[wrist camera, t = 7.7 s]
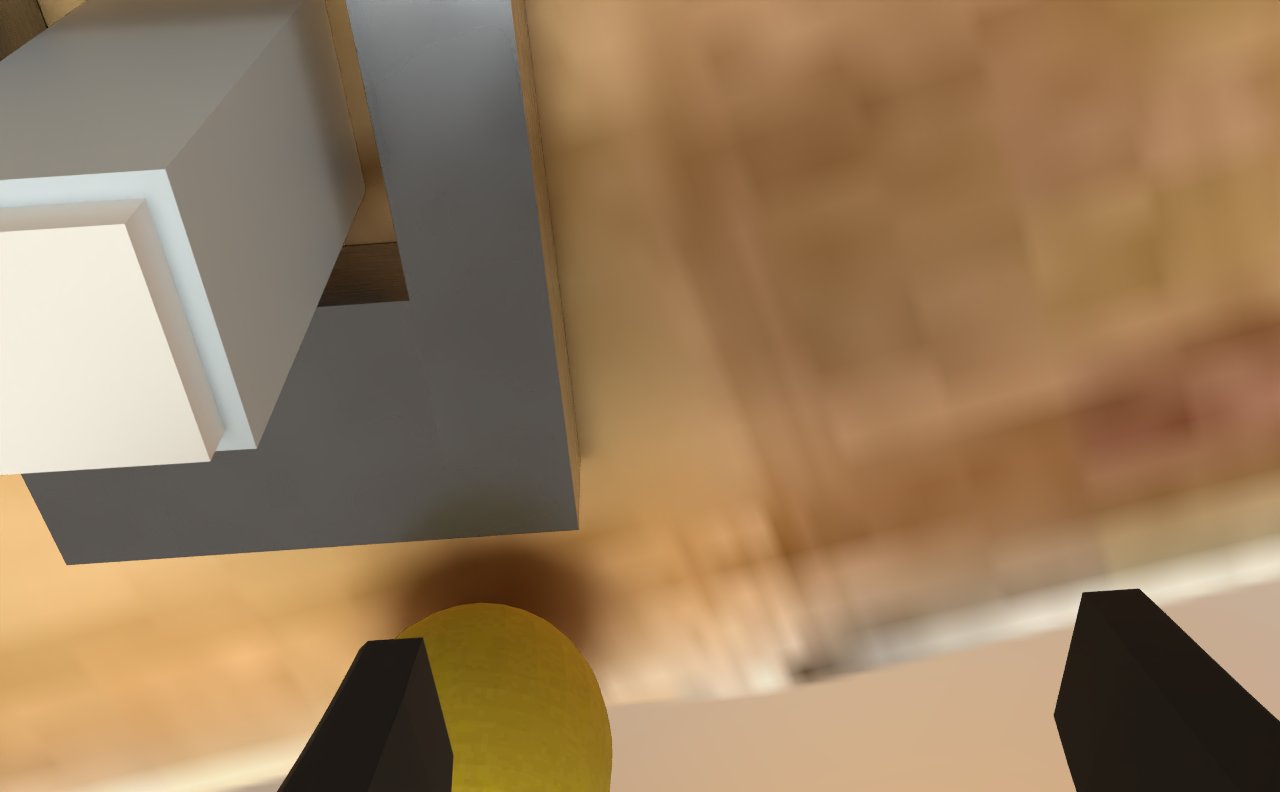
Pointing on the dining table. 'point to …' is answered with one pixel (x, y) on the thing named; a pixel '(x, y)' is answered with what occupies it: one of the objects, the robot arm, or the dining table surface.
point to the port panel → (389, 334)
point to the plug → (164, 225)
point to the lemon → (516, 702)
